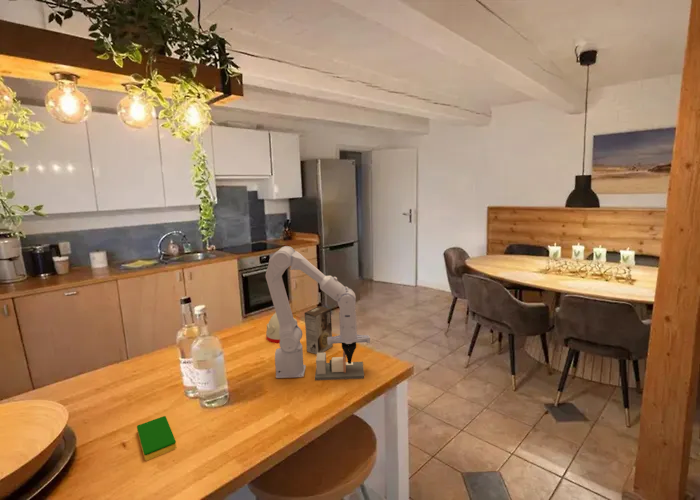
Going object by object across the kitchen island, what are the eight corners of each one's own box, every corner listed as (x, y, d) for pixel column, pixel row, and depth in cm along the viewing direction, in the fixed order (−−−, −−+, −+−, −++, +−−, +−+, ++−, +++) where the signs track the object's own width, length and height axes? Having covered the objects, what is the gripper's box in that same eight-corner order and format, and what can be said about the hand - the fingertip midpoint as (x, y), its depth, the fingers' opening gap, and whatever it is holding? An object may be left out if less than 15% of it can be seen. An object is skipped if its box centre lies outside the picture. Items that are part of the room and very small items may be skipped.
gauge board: (314, 380, 124) (314, 363, 123) (317, 365, 134) (316, 350, 133) (364, 378, 124) (363, 361, 123) (362, 364, 134) (362, 348, 133)
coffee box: (321, 343, 153) (319, 305, 151) (333, 346, 150) (331, 308, 147) (306, 351, 146) (303, 312, 143) (318, 355, 142) (316, 315, 140)
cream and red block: (329, 373, 126) (328, 358, 125) (330, 362, 133) (329, 349, 132) (345, 372, 126) (345, 358, 125) (345, 362, 133) (345, 348, 132)
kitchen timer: (277, 346, 152) (274, 311, 149) (260, 336, 162) (258, 303, 159) (305, 336, 161) (303, 303, 158) (287, 327, 171) (285, 296, 169)
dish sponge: (166, 423, 105) (165, 415, 105) (177, 450, 94) (175, 441, 94) (137, 433, 101) (136, 425, 100) (145, 462, 90) (144, 454, 89)
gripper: (326, 330, 122) (328, 368, 125) (370, 328, 122) (371, 367, 125) (327, 322, 129) (329, 359, 132) (368, 321, 129) (369, 357, 132)
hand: (349, 362), depth 129 cm, fingers closed
